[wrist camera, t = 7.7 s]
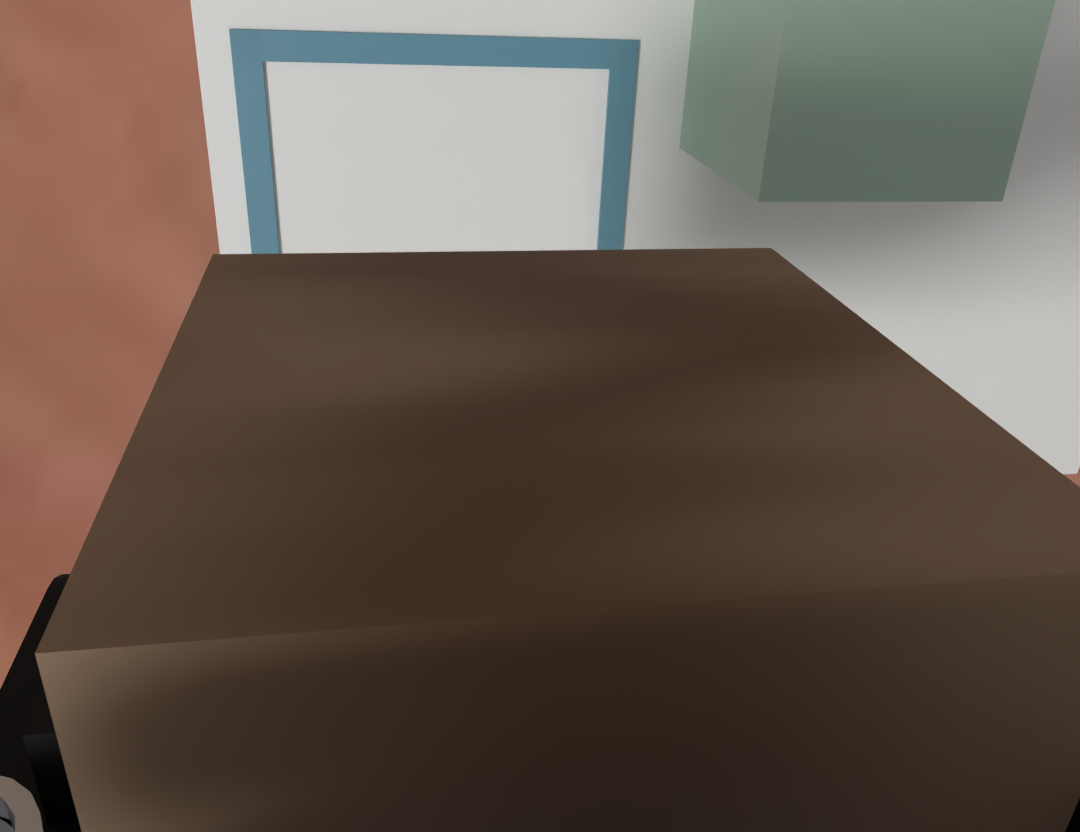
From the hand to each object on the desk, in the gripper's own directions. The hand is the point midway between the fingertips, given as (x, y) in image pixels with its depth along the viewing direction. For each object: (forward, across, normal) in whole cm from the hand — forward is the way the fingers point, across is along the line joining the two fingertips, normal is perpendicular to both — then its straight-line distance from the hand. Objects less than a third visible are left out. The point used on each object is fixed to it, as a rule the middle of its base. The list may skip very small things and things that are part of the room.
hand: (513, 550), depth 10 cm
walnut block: (+1, 0, 0) cm, 1 cm away
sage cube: (+13, -8, -4) cm, 16 cm away
